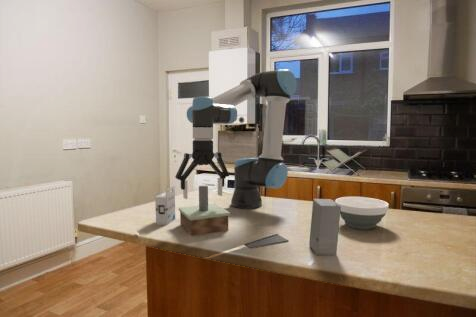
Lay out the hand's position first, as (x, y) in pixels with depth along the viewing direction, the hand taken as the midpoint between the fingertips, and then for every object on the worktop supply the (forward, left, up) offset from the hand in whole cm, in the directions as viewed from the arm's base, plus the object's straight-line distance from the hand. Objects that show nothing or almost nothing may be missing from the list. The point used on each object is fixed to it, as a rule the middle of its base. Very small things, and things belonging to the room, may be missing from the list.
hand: (203, 196), depth 124 cm
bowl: (-57, +22, -13) cm, 63 cm away
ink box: (+11, -14, -13) cm, 22 cm away
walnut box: (0, 0, -13) cm, 13 cm away
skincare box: (-27, +36, -13) cm, 47 cm away
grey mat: (-14, +17, -13) cm, 25 cm away
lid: (0, 0, -6) cm, 6 cm away
